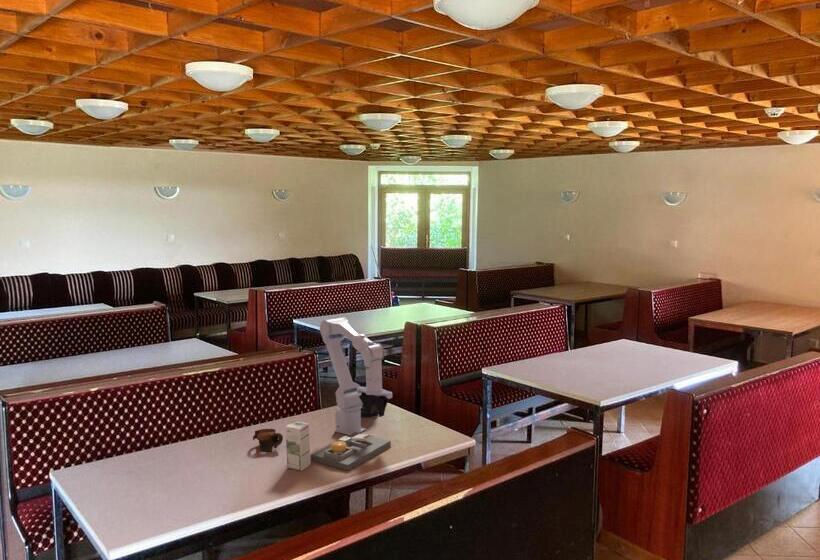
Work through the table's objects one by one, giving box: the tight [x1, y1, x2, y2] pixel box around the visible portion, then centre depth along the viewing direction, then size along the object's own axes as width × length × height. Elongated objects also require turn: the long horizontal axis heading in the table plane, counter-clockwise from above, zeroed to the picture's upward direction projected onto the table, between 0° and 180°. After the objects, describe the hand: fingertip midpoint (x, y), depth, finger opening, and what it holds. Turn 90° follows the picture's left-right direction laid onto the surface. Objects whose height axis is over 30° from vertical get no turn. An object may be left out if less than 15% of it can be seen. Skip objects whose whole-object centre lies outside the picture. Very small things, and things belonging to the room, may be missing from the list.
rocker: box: [352, 433, 374, 441], centre depth 215 cm, size 6×4×1 cm
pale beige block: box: [337, 435, 352, 447], centre depth 212 cm, size 3×4×2 cm
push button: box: [330, 440, 346, 453], centre depth 204 cm, size 5×5×2 cm
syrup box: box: [285, 421, 311, 472], centre depth 199 cm, size 6×6×14 cm
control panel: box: [310, 432, 392, 471], centre depth 210 cm, size 16×24×3 cm, turn 147°
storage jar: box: [354, 374, 379, 418], centre depth 249 cm, size 10×10×15 cm
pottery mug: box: [252, 428, 284, 454], centre depth 215 cm, size 12×10×8 cm
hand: (375, 414), depth 218 cm, fingers open, 5 cm apart
